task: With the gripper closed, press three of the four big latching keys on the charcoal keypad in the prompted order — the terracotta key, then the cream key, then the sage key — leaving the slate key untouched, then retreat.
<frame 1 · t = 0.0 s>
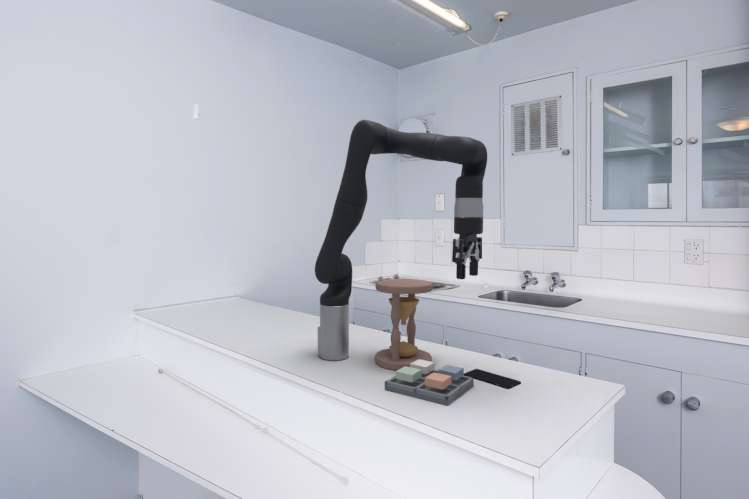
hand: (467, 277, 124), 29 cm above the counter, fingers open, 8 cm apart
cream key: (422, 366, 130), point 4 cm above the counter, slide at 0.0 cm
hourglass: (403, 362, 146), on the counter
smartphone: (491, 381, 131), on the counter
terracotta key: (438, 380, 118), point 4 cm above the counter, slide at 0.0 cm
slate key: (451, 372, 125), point 4 cm above the counter, slide at 0.0 cm
sage key: (408, 374, 123), point 4 cm above the counter, slide at 0.0 cm
keypad: (429, 387, 124), on the counter
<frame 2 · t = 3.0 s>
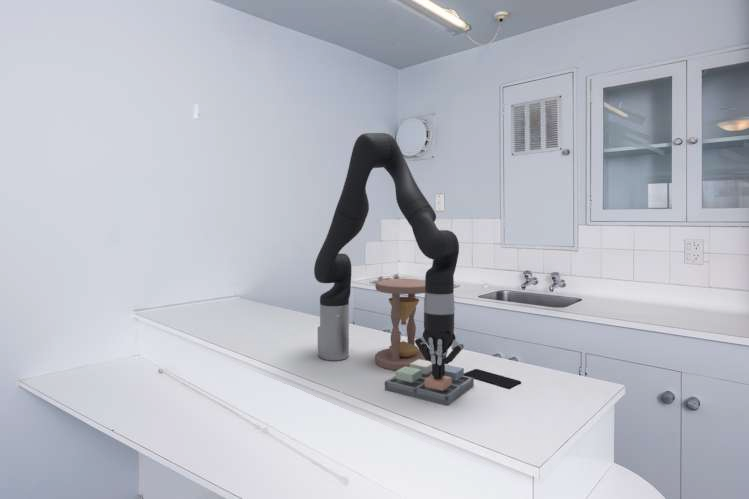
hand: (438, 378, 118), 5 cm above the counter, fingers closed
terracotta key: (438, 381, 118), point 4 cm above the counter, slide at 0.3 cm, touching gripper
everything else where it was.
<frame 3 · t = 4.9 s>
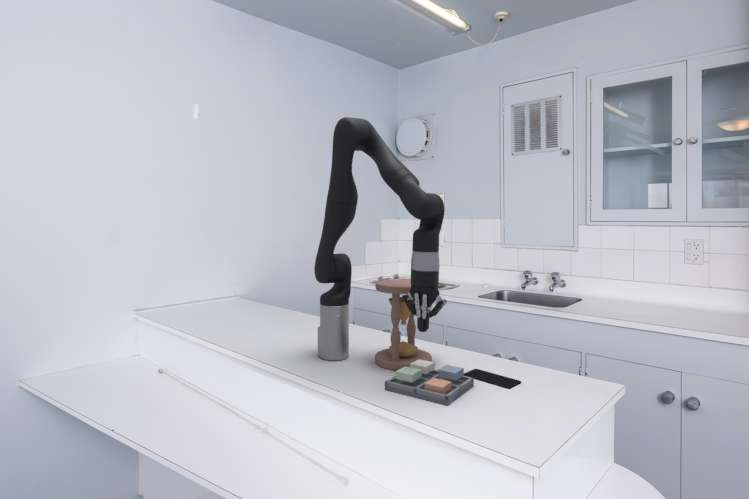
hand: (423, 331, 127), 14 cm above the counter, fingers closed
terracotta key: (438, 386, 119), point 2 cm above the counter, slide at 1.4 cm
everything else where it was.
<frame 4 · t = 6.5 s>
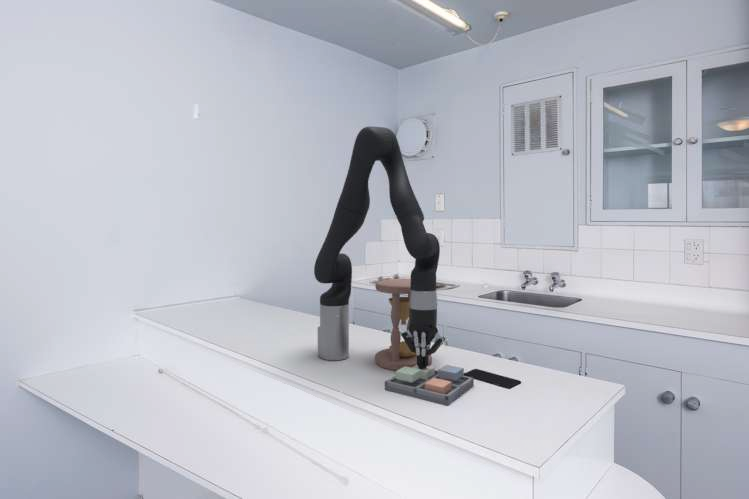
hand: (422, 368, 129), 4 cm above the counter, fingers closed
cream key: (422, 371, 130), point 2 cm above the counter, slide at 1.4 cm, touching gripper
everything else where it was.
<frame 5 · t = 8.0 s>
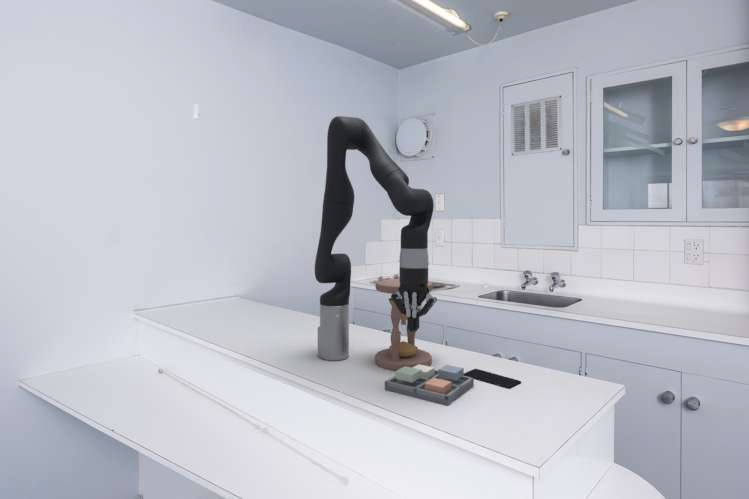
hand: (413, 330, 124), 15 cm above the counter, fingers closed
cream key: (422, 371, 130), point 2 cm above the counter, slide at 1.5 cm
everything else where it was.
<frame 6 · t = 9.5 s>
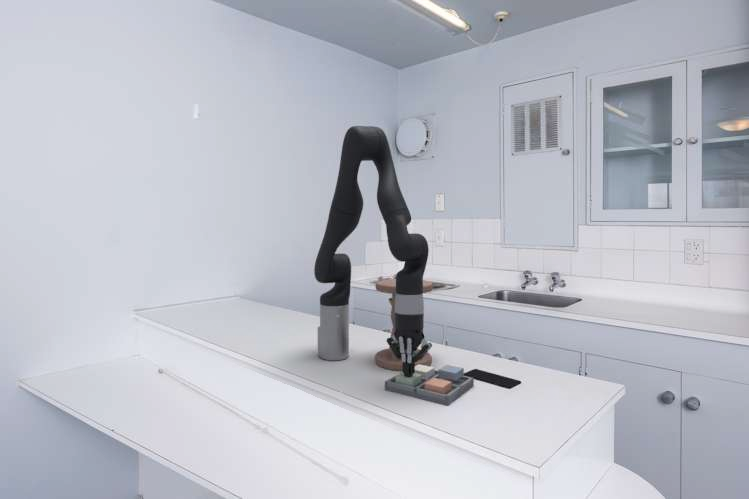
hand: (408, 375, 123), 4 cm above the counter, fingers closed
sage key: (408, 379, 123), point 3 cm above the counter, slide at 1.4 cm
everything else where it was.
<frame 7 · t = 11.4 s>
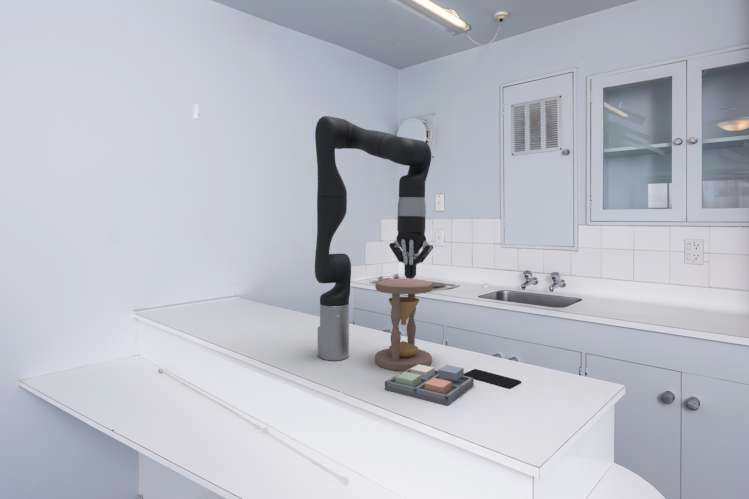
hand: (410, 278, 128), 28 cm above the counter, fingers closed
nothing on the counter moved.
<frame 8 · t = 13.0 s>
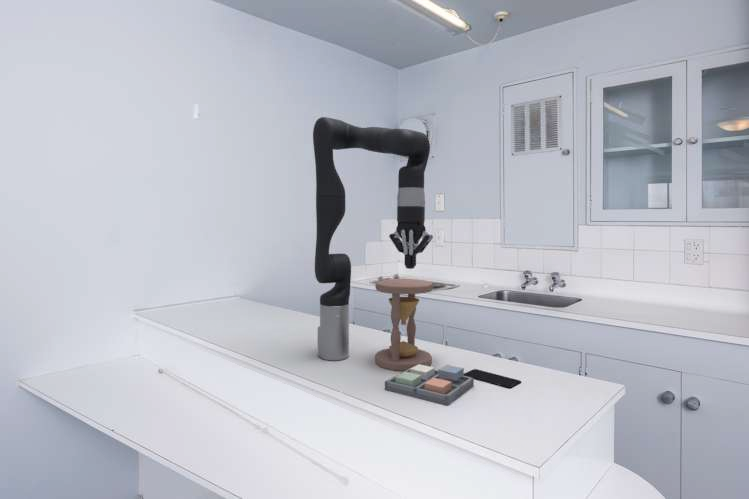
hand: (410, 268, 129), 31 cm above the counter, fingers closed
nothing on the counter moved.
at the end: terracotta key slide at 1.4 cm; sage key slide at 1.4 cm; slate key slide at 0.0 cm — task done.
